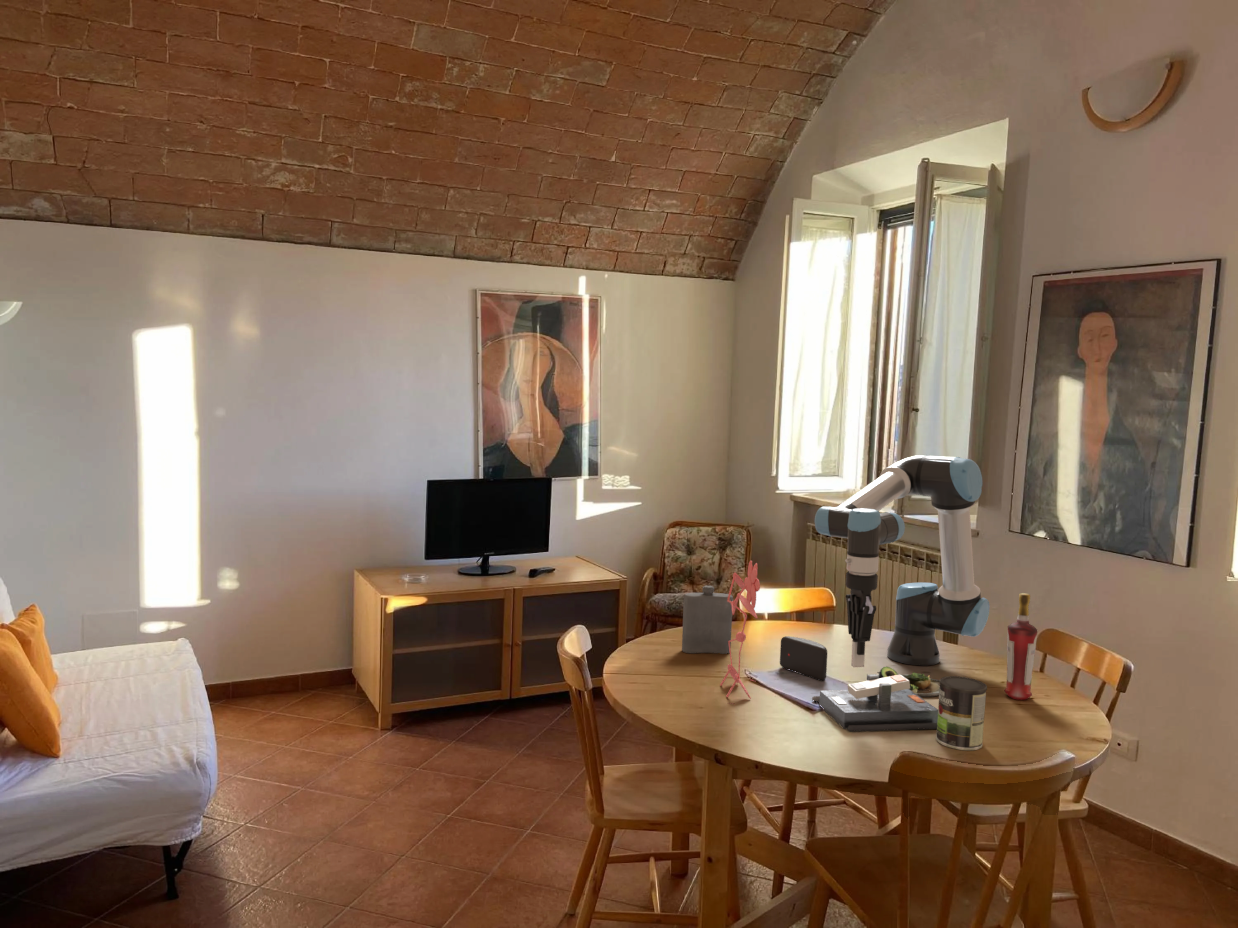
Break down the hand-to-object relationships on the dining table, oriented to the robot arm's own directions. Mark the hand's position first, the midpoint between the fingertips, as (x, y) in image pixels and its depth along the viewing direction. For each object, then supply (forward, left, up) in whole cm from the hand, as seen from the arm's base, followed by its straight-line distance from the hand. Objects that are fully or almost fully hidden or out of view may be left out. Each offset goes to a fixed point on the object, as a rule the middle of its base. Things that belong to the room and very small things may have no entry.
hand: (857, 666), depth 228 cm
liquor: (-51, -11, -13) cm, 53 cm away
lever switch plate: (-6, 0, -13) cm, 14 cm away
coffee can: (-18, +18, -13) cm, 28 cm away
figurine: (+21, -20, -13) cm, 32 cm away
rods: (-5, -1, -13) cm, 14 cm away
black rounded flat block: (+1, -34, -13) cm, 36 cm away
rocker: (-6, 0, -5) cm, 8 cm away
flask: (+23, -58, -13) cm, 64 cm away
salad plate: (-24, -21, -13) cm, 34 cm away
